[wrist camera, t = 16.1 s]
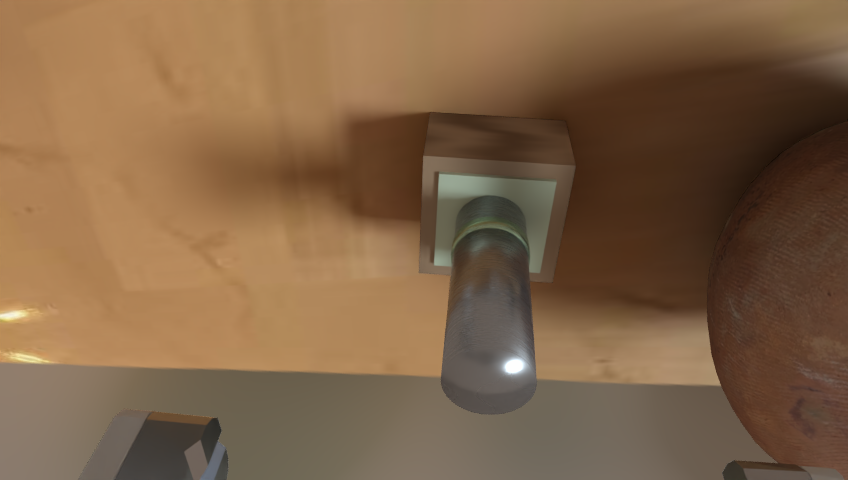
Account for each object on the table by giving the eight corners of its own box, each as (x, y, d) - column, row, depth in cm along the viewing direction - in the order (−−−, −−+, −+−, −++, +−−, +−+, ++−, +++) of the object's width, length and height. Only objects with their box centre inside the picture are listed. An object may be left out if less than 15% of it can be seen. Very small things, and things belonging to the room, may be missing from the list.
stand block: (425, 222, 48) (418, 275, 43) (430, 112, 43) (422, 158, 38) (545, 231, 48) (552, 285, 43) (565, 120, 42) (576, 168, 37)
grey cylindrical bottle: (453, 252, 42) (437, 412, 31) (455, 192, 39) (439, 343, 28) (524, 256, 41) (533, 419, 31) (531, 196, 39) (544, 351, 28)
